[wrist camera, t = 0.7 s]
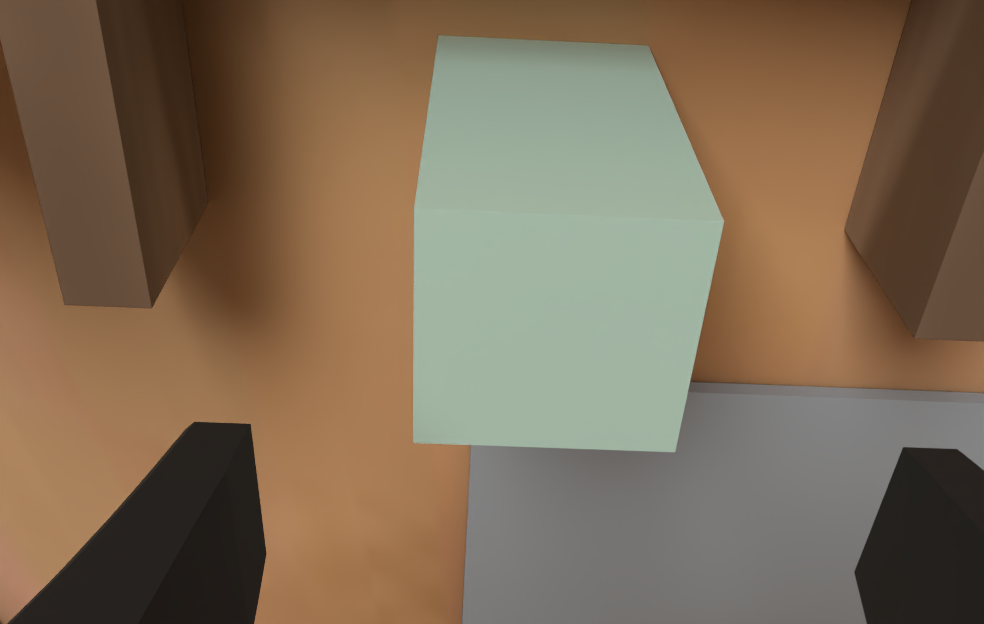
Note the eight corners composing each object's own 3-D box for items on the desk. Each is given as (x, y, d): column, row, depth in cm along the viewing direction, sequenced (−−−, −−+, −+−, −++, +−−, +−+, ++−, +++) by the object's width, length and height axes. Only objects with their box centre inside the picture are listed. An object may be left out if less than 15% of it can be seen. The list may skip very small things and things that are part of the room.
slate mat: (1055, 395, 23) (1063, 406, 22) (889, 732, 31) (893, 744, 30) (474, 373, 22) (473, 384, 22) (456, 721, 30) (456, 733, 30)
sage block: (648, 45, 18) (724, 222, 12) (621, 229, 20) (675, 451, 14) (438, 35, 18) (414, 208, 12) (434, 221, 20) (413, 443, 14)
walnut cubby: (1085, -274, 15) (1254, -261, 12) (913, 232, 20) (996, 342, 17) (39, -337, 15) (-93, -341, 11) (136, 199, 20) (64, 305, 16)
